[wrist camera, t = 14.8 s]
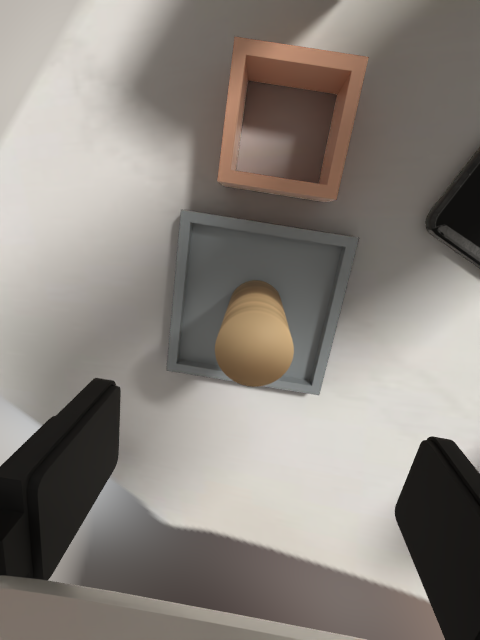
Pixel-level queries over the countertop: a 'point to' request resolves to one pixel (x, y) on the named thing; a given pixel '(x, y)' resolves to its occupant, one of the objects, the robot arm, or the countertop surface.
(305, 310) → the tray
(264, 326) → the pin
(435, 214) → the phone
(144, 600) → the robot arm
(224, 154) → the pink hollow square box
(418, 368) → the countertop surface
